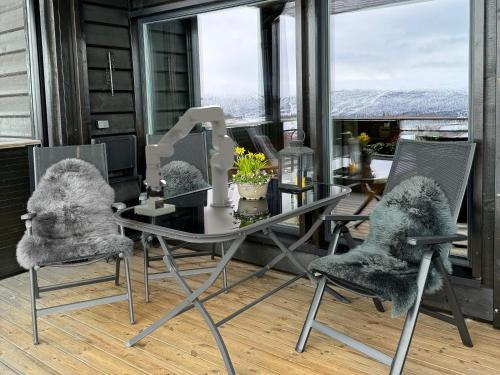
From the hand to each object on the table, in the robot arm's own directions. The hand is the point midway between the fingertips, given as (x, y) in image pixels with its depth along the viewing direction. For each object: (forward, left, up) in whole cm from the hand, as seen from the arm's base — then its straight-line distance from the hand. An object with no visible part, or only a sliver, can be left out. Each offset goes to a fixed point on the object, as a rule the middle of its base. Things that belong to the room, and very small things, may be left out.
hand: (155, 196), depth 293 cm
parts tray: (0, +1, -9) cm, 9 cm away
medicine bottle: (0, +1, -9) cm, 9 cm away
